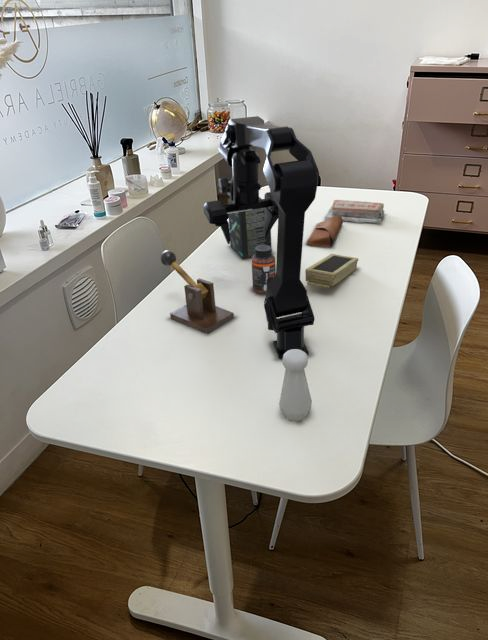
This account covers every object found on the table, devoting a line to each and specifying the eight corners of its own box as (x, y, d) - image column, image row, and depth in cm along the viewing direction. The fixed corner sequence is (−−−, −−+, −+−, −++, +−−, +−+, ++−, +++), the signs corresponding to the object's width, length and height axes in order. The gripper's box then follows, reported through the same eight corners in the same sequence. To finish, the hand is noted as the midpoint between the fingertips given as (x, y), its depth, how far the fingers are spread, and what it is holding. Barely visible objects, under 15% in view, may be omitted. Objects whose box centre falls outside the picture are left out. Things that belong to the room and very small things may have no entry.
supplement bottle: (273, 295, 140) (272, 253, 134) (250, 294, 141) (248, 252, 135) (278, 284, 145) (277, 243, 139) (255, 283, 146) (253, 242, 140)
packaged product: (385, 199, 184) (381, 210, 176) (384, 214, 187) (380, 224, 179) (331, 196, 189) (325, 205, 181) (331, 210, 192) (324, 220, 184)
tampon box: (272, 254, 162) (271, 204, 154) (242, 259, 159) (239, 209, 151) (258, 241, 171) (256, 193, 163) (229, 246, 168) (226, 198, 160)
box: (302, 288, 140) (304, 269, 138) (331, 267, 159) (333, 250, 156) (334, 294, 137) (336, 275, 135) (360, 272, 156) (362, 254, 153)
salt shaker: (310, 403, 104) (311, 343, 97) (313, 423, 99) (314, 362, 92) (278, 404, 104) (277, 345, 97) (280, 424, 99) (279, 363, 92)
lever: (155, 260, 130) (159, 250, 128) (167, 255, 133) (171, 245, 130) (195, 303, 128) (200, 294, 125) (206, 297, 130) (211, 288, 128)
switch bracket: (170, 318, 132) (166, 284, 127) (197, 303, 138) (194, 271, 133) (207, 334, 126) (203, 299, 121) (234, 318, 131) (231, 284, 127)
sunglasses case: (316, 222, 180) (327, 205, 177) (334, 234, 181) (346, 218, 177) (305, 244, 166) (316, 226, 162) (325, 257, 167) (337, 239, 163)
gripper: (273, 157, 130) (272, 217, 141) (195, 168, 126) (200, 230, 136) (290, 176, 123) (288, 239, 133) (208, 189, 118) (212, 253, 128)
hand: (247, 239), depth 133 cm, fingers open, 9 cm apart
